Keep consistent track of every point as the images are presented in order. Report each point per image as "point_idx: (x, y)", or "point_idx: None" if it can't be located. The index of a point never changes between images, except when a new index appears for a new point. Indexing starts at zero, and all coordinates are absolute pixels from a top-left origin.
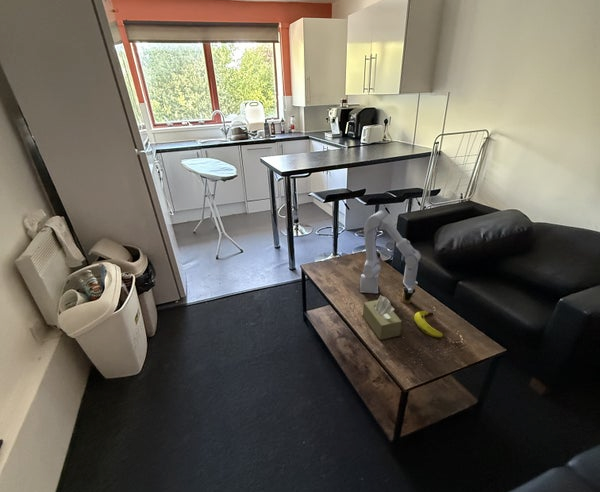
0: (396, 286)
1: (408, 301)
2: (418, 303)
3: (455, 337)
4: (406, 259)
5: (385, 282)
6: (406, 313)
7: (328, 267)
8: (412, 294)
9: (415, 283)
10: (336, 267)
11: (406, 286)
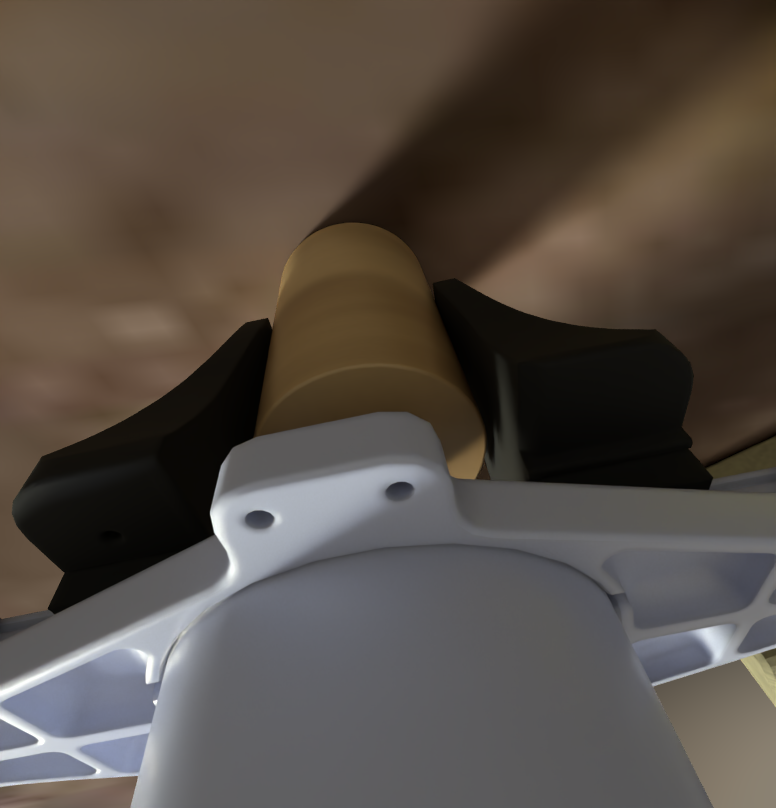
0: (19, 459)
1: (423, 273)
2: (357, 60)
3: None
4: None
5: (26, 563)
6: (683, 252)
7: (121, 802)
8: (551, 322)
9: (463, 530)
10: (83, 789)
11: (685, 664)
